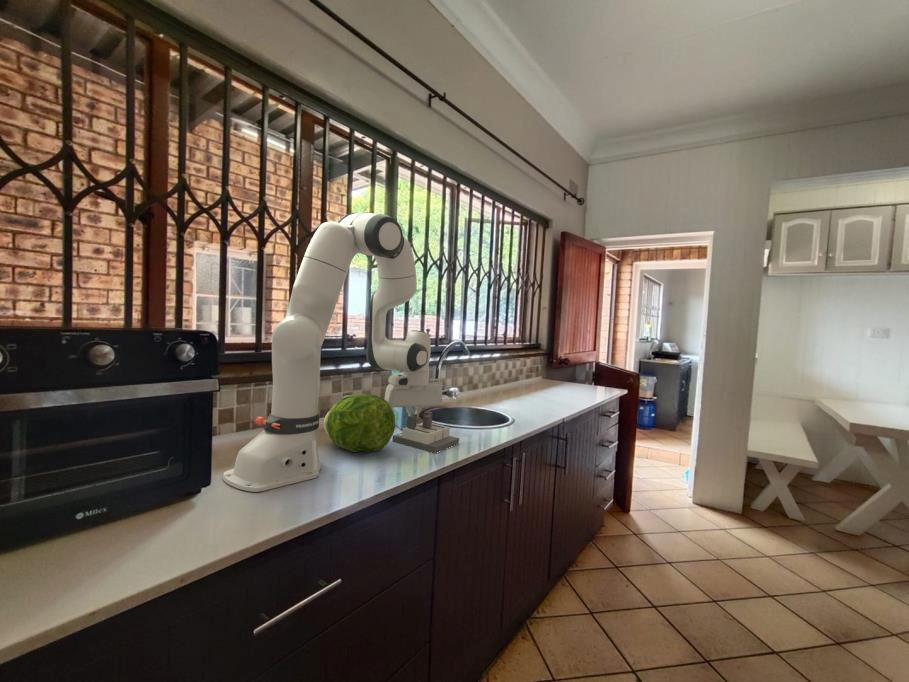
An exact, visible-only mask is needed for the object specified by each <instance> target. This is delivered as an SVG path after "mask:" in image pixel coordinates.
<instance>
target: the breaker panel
mask: <svg viewBox="0 0 909 682" xmlns="http://www.w3.org/2000/svg"><path fill="white" fill-rule="evenodd" d="M422 426H423V422H420V423H417V424H416V428H412V429H411V428H407V427H406V428H403V430H402V432H400V433H396V434H393V435H392V437H391V439H392V440H391V442H393V443H396V444H400V445H404V446H406V447H410V448H413V449H416V450H421V451H423V452H428V453H431V452H432V453H431V454H434V453H436V454H437V452H438V453H440V452H439V451H441V450H443V451H445V450H447V449H446V448H448V449H450V448H452V447H451V446H453V447H455V446H457V445H459V441H460V438H459V437H456V436H453V435H450V434H451V433H450V430H451V428H450V427H449V426H444V425H441V424H437V423H433V422H432V427H429V428H425V427H422ZM456 444H457V445H456ZM454 445H455V446H454ZM449 447H450V448H449ZM444 449H445V450H444ZM441 452H442V451H441Z"/></svg>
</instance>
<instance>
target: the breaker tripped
mask: <svg viewBox="0 0 909 682" xmlns="http://www.w3.org/2000/svg"><path fill="white" fill-rule="evenodd" d="M422 416H423V417H422V423H423V426H422V427H425V428H429V427H432V423H433V415H432V416H430V415H425V416H424V415H422Z"/></svg>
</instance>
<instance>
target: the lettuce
mask: <svg viewBox="0 0 909 682" xmlns="http://www.w3.org/2000/svg"><path fill="white" fill-rule="evenodd" d="M352 395H353V396H348V397H345V398H343V397H342V398H341V399H340V400H338V401H337V402H336V403H335V404H333V405H332V406H331V408H330V410H329V411H327V413H326V415H325V417H324V419H323V429H324V431H325V433H326V434H327V436H328V438H329V439H330V440H331V441H332V442H333V443H334V444H335V445H336V446H337V447H340V448H341V449H345V450H346V451H350V452H352V453H357V454H361V453H362V454H363V453H365V454H366V453H370V452H375V451H378V450H381V449H383V448H384V447H385V446H386V445H387V444H388V443H389V442H390V440H391V439H392V438H393V435H394V433H395V429H396V424H395V415H394V412H393V410H392V408H391V406H390V405H389V404H388V402H387V401H386V400H385V398H382V397H380V396H378V395H376V394H371V393H359V394H352Z"/></svg>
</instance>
